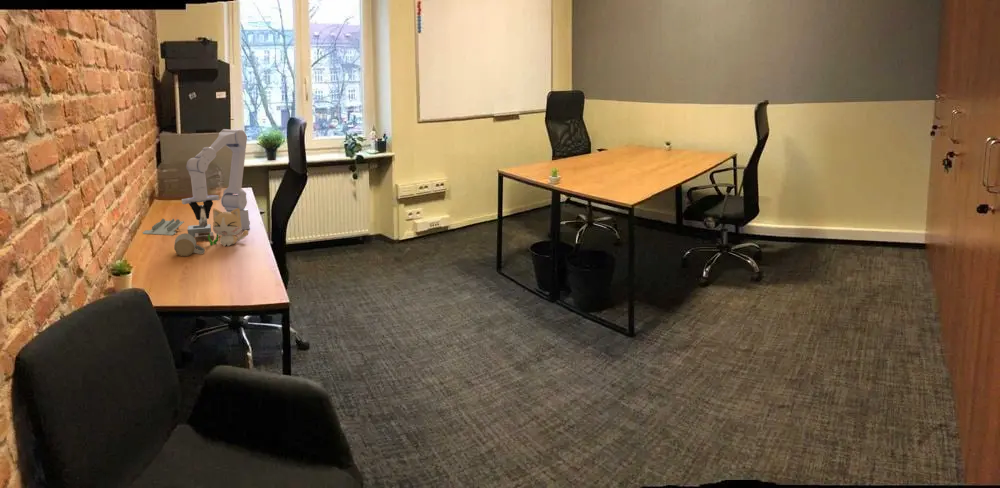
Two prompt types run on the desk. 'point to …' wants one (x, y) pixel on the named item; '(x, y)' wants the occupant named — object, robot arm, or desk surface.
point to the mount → (203, 236)
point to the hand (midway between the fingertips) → (202, 218)
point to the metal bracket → (164, 227)
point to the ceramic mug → (187, 245)
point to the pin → (202, 216)
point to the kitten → (227, 227)
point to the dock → (198, 229)
